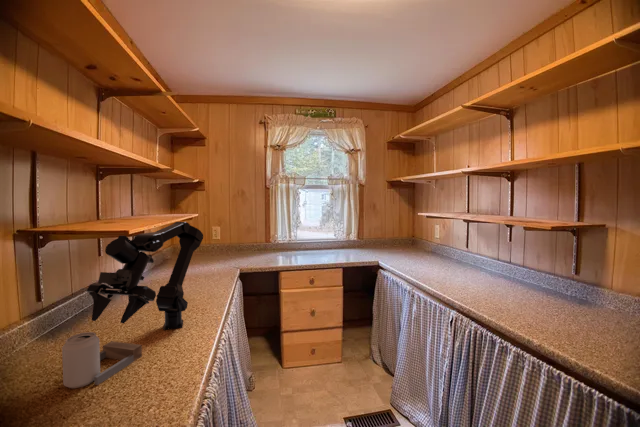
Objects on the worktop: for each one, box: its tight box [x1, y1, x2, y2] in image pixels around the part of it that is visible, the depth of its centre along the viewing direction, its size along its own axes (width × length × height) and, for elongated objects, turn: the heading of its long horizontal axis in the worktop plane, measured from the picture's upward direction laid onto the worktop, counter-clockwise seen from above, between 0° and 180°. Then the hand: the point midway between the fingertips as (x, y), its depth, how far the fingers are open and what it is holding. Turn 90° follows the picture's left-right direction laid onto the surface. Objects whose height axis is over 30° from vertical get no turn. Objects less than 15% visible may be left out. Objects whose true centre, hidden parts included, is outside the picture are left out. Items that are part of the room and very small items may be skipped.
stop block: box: [102, 340, 143, 362], centre depth 87 cm, size 3×11×4 cm, turn 78°
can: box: [61, 331, 101, 389], centre depth 75 cm, size 8×8×12 cm
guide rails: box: [93, 350, 135, 386], centre depth 80 cm, size 11×11×2 cm
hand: (107, 321), depth 80 cm, fingers open, 9 cm apart
